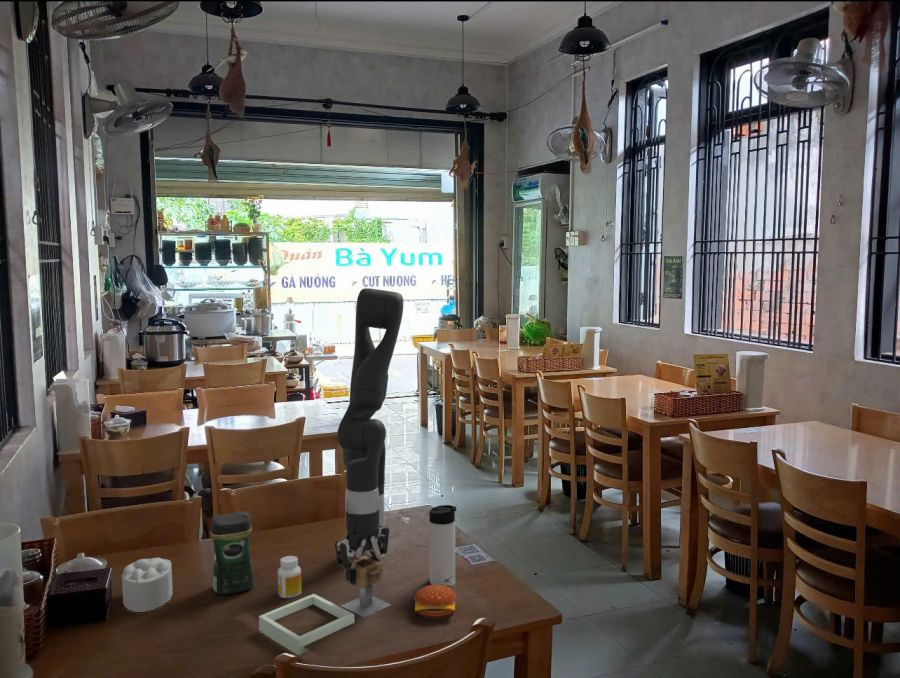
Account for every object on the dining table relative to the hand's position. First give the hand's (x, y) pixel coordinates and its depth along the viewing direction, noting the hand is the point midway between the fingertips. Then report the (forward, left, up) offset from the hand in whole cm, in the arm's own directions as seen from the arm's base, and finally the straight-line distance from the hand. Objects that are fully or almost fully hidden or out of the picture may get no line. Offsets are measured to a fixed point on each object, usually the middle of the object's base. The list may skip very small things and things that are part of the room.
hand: (363, 578), depth 162 cm
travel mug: (+5, +21, -8) cm, 23 cm away
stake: (+1, 0, -8) cm, 8 cm away
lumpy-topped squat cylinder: (-41, -31, -8) cm, 52 cm away
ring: (0, 0, 0) cm, 0 cm away
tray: (-2, -14, -8) cm, 16 cm away
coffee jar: (-32, -14, -8) cm, 36 cm away
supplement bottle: (-17, -8, -8) cm, 21 cm away
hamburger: (+14, +9, -8) cm, 18 cm away
